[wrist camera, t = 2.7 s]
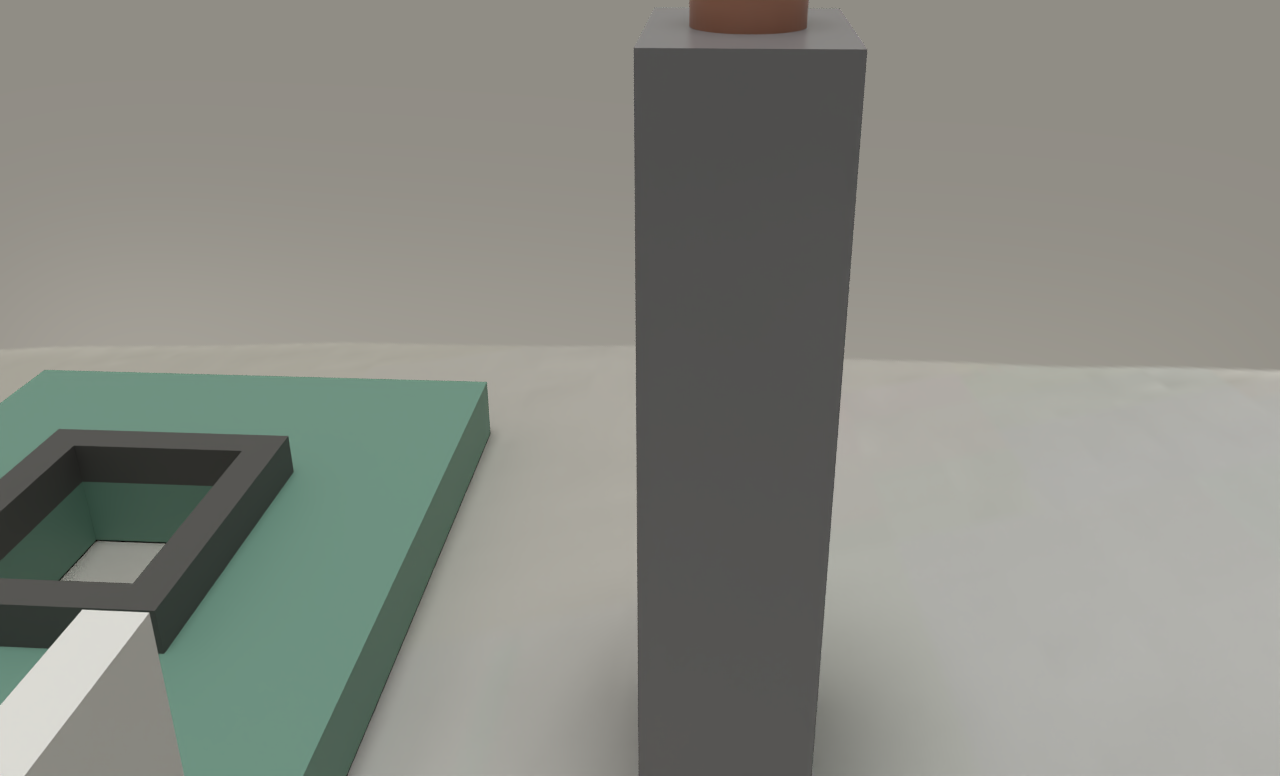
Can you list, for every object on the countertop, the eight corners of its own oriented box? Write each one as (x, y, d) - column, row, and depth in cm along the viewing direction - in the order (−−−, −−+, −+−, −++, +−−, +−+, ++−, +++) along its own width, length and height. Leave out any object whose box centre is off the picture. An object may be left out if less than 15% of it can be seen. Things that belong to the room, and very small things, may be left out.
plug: (806, 841, 24) (884, -174, 16) (639, 832, 24) (632, -172, 16) (794, 673, 29) (848, -168, 21) (655, 667, 29) (655, -167, 21)
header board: (258, 985, 21) (231, 856, 20) (-555, 932, 22) (-635, 807, 21) (490, 433, 41) (484, 350, 39) (56, 420, 42) (36, 338, 41)
